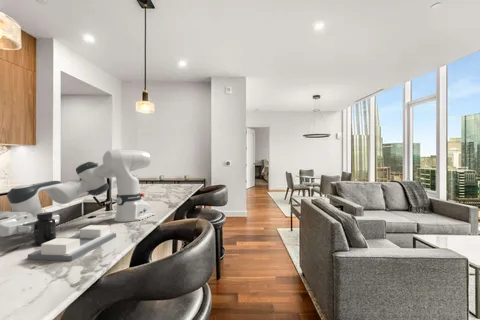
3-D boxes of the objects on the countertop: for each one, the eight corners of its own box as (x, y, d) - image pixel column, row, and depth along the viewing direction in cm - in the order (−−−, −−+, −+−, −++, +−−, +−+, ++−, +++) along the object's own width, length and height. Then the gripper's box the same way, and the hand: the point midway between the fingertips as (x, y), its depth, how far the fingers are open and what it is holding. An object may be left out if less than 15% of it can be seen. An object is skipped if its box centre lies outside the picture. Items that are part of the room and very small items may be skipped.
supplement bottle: (50, 239, 99) (50, 210, 99) (59, 241, 96) (59, 212, 96) (30, 244, 93) (30, 214, 93) (39, 247, 90) (39, 216, 90)
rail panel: (81, 235, 103) (81, 224, 103) (116, 236, 102) (116, 225, 102) (27, 259, 79) (27, 244, 79) (71, 260, 78) (71, 245, 78)
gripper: (46, 223, 108) (69, 226, 105) (-12, 238, 88) (15, 241, 85) (46, 210, 108) (69, 211, 105) (-12, 221, 88) (15, 224, 85)
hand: (44, 225), depth 94 cm, fingers open, 8 cm apart
